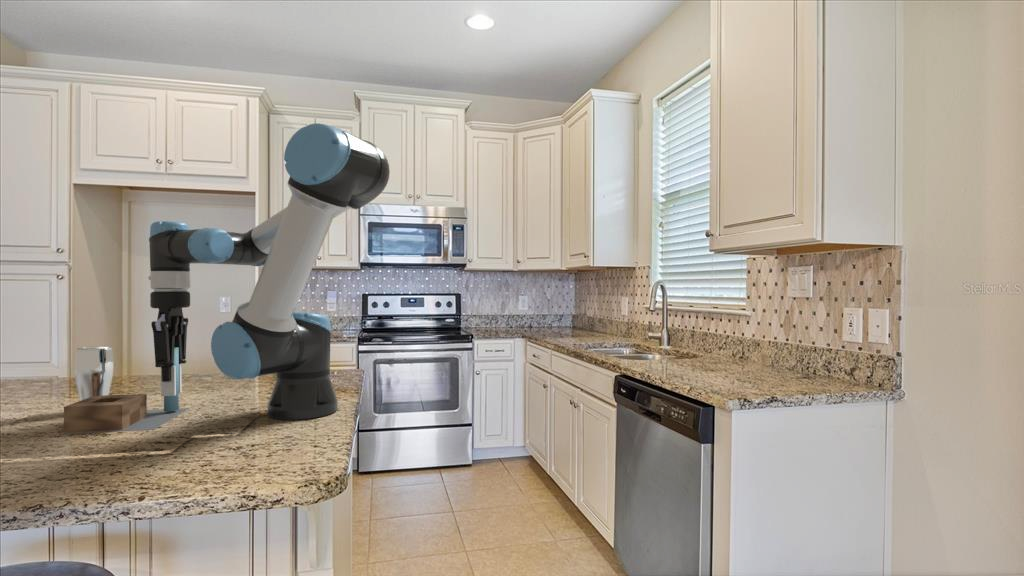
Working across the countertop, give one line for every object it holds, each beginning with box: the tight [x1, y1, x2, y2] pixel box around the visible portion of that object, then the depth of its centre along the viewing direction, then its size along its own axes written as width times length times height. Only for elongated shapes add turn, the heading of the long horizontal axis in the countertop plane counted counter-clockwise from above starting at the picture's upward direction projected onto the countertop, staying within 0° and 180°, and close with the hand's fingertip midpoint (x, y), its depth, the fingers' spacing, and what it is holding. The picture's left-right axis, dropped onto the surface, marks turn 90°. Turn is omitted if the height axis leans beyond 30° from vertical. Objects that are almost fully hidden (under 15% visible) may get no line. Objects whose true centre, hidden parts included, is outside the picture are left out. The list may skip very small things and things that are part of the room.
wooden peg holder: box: [63, 393, 148, 433], centre depth 106 cm, size 10×10×5 cm
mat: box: [60, 407, 190, 435], centre depth 109 cm, size 16×18×1 cm
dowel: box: [163, 347, 180, 411], centre depth 116 cm, size 3×3×14 cm
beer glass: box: [73, 345, 115, 401], centre depth 116 cm, size 7×7×15 cm
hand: (171, 394), depth 116 cm, fingers closed on dowel, 2 cm apart
